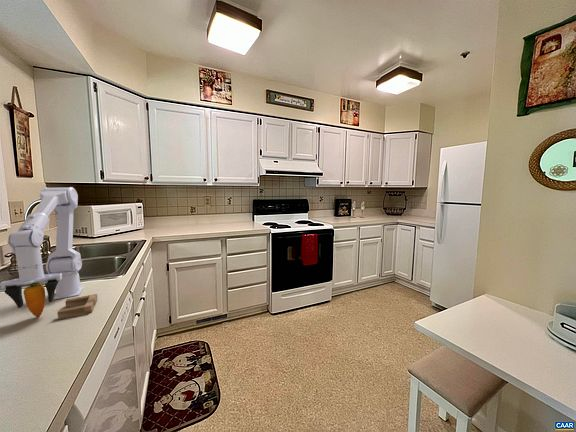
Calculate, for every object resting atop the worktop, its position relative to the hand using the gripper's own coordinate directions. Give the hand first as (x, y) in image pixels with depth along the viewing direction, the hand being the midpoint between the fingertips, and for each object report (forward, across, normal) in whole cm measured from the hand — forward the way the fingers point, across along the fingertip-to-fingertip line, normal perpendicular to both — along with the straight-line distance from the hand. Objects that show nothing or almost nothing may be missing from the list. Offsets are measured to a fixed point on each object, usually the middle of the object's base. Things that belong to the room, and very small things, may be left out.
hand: (36, 303), depth 84 cm
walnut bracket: (+5, +10, 0) cm, 11 cm away
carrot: (+5, 0, 0) cm, 5 cm away
